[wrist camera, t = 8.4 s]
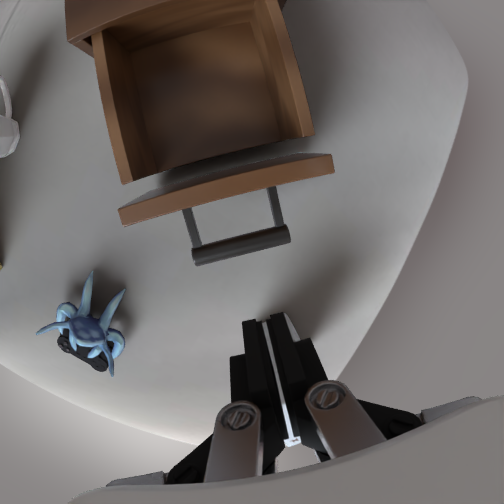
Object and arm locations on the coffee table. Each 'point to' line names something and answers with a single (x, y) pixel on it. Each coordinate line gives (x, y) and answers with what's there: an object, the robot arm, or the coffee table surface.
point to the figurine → (88, 331)
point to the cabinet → (107, 16)
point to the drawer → (205, 109)
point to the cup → (7, 125)
